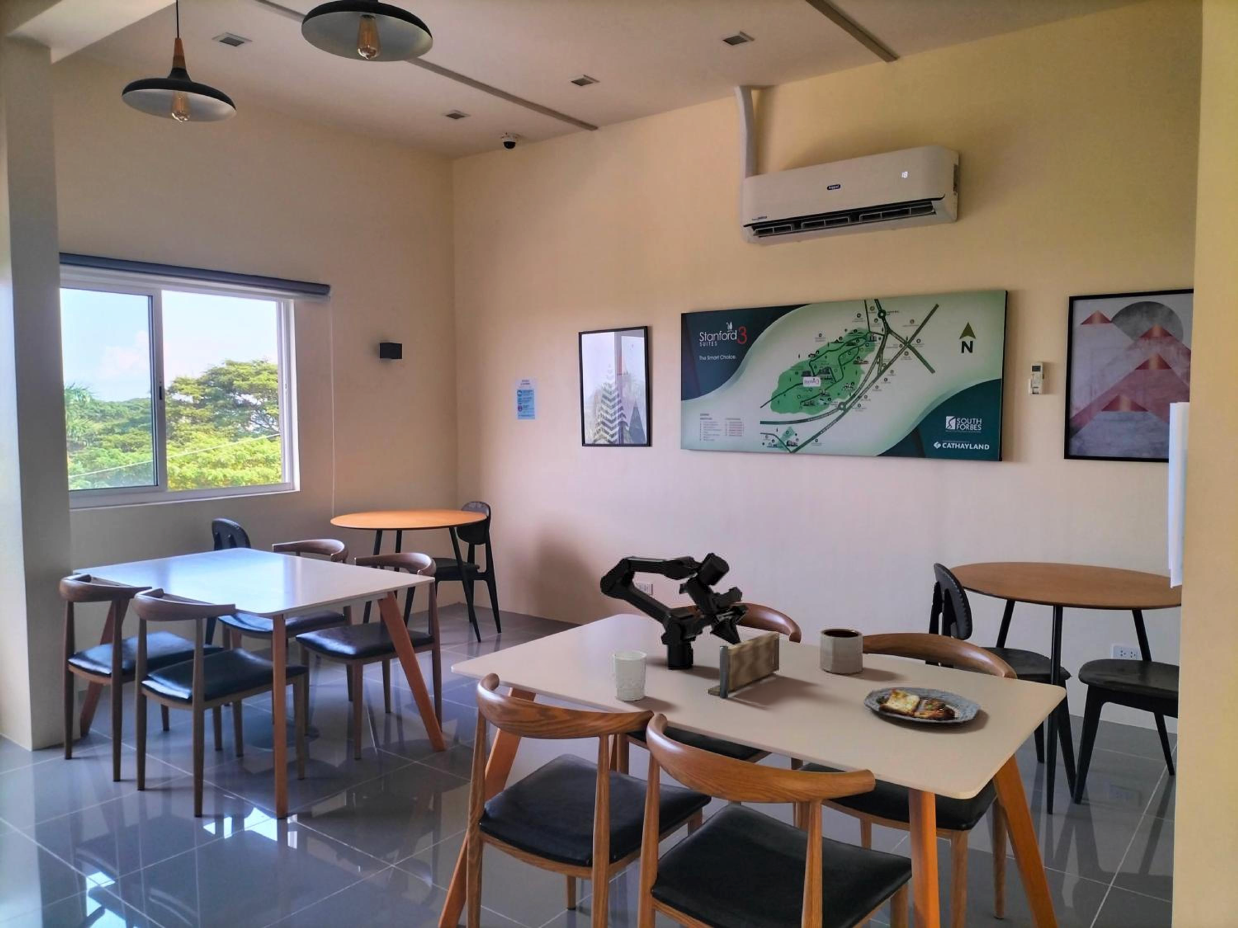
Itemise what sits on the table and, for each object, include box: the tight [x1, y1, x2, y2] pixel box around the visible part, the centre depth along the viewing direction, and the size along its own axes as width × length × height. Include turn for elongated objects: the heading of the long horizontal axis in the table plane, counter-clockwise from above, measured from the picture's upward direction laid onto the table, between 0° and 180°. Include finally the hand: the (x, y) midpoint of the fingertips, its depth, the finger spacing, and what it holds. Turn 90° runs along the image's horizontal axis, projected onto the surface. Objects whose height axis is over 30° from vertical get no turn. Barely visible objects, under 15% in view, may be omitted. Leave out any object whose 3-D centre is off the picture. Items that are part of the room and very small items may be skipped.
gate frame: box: [707, 645, 775, 699], centre depth 212 cm, size 26×6×12 cm, turn 139°
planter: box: [819, 628, 864, 675], centre depth 225 cm, size 11×11×10 cm
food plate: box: [863, 686, 981, 725], centre depth 192 cm, size 25×23×4 cm
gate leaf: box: [728, 630, 781, 690], centre depth 212 cm, size 22×2×10 cm, turn 139°
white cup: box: [612, 650, 647, 702], centre depth 203 cm, size 8×8×10 cm
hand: (740, 646), depth 216 cm, fingers closed
